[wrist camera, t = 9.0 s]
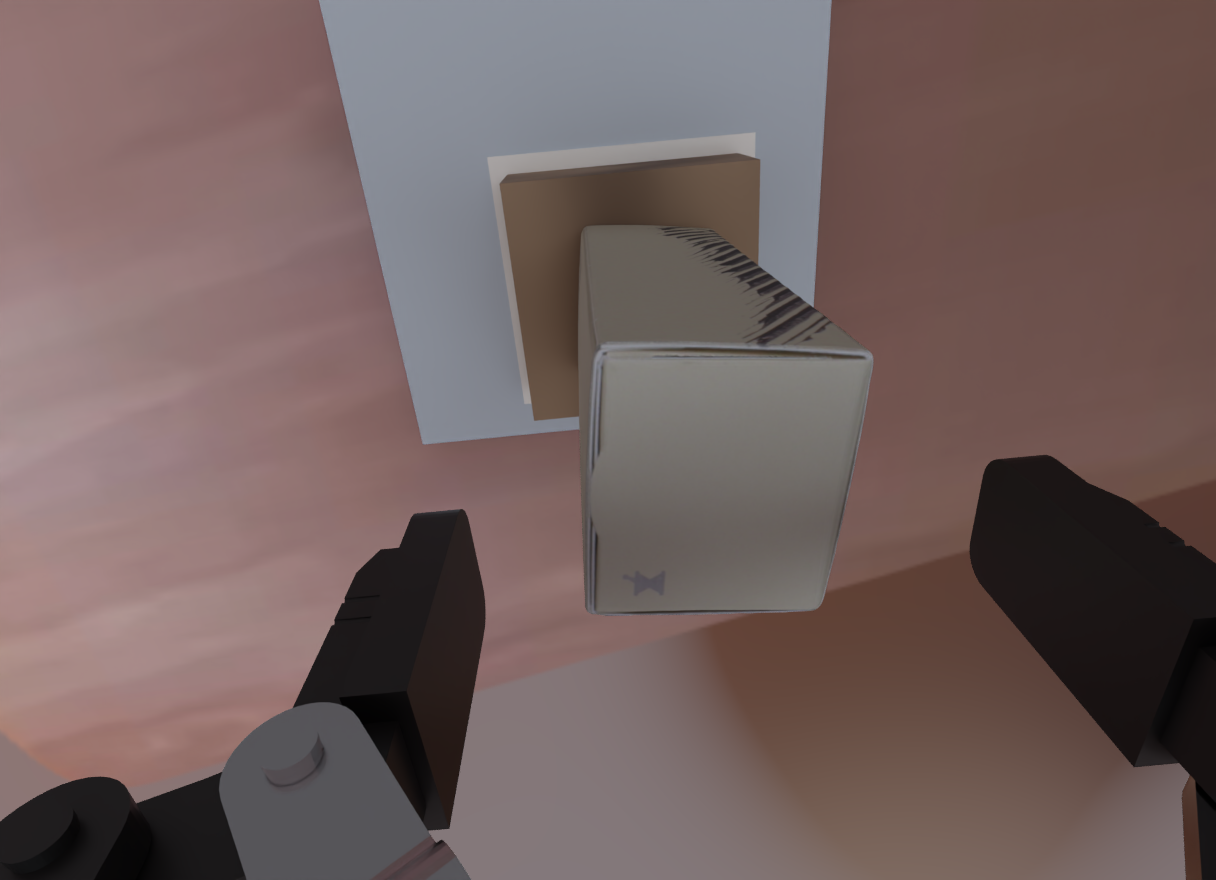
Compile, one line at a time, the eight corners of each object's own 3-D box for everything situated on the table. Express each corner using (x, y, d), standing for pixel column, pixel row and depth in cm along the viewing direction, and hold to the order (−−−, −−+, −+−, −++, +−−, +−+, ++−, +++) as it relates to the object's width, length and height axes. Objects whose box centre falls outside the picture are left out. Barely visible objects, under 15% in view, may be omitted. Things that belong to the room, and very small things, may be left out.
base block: (737, 153, 23) (760, 159, 20) (736, 369, 27) (755, 399, 24) (507, 174, 23) (499, 183, 20) (537, 389, 27) (534, 421, 24)
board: (824, -61, 21) (836, -69, 20) (799, 397, 29) (808, 407, 28) (324, -17, 21) (312, -23, 20) (427, 433, 28) (422, 445, 27)
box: (699, 373, 23) (826, 631, 12) (574, 372, 23) (581, 635, 12) (715, 216, 21) (894, 350, 10) (576, 212, 21) (587, 346, 9)
